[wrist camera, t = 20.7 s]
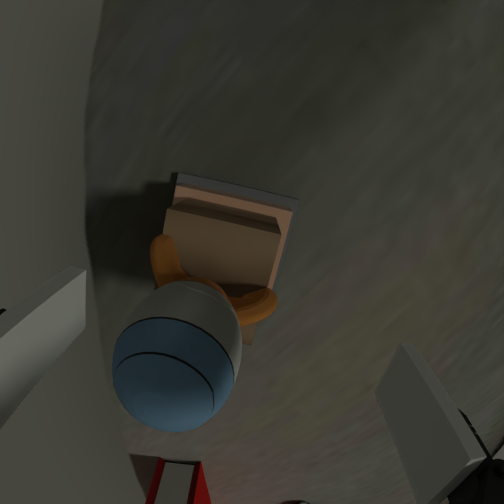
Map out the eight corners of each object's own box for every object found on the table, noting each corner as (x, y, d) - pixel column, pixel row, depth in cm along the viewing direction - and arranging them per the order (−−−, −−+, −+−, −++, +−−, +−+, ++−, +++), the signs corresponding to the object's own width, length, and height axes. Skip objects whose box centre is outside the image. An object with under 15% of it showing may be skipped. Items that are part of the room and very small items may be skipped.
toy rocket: (193, 355, 29) (101, 460, 14) (137, 253, 28) (4, 304, 14) (293, 316, 26) (250, 446, 11) (232, 197, 25) (113, 211, 11)
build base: (180, 172, 36) (168, 174, 31) (298, 199, 37) (304, 204, 32) (161, 283, 40) (149, 298, 35) (269, 308, 40) (270, 327, 36)
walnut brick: (188, 197, 32) (166, 208, 24) (276, 217, 32) (281, 234, 25) (172, 287, 35) (150, 321, 27) (253, 306, 35) (251, 345, 27)
